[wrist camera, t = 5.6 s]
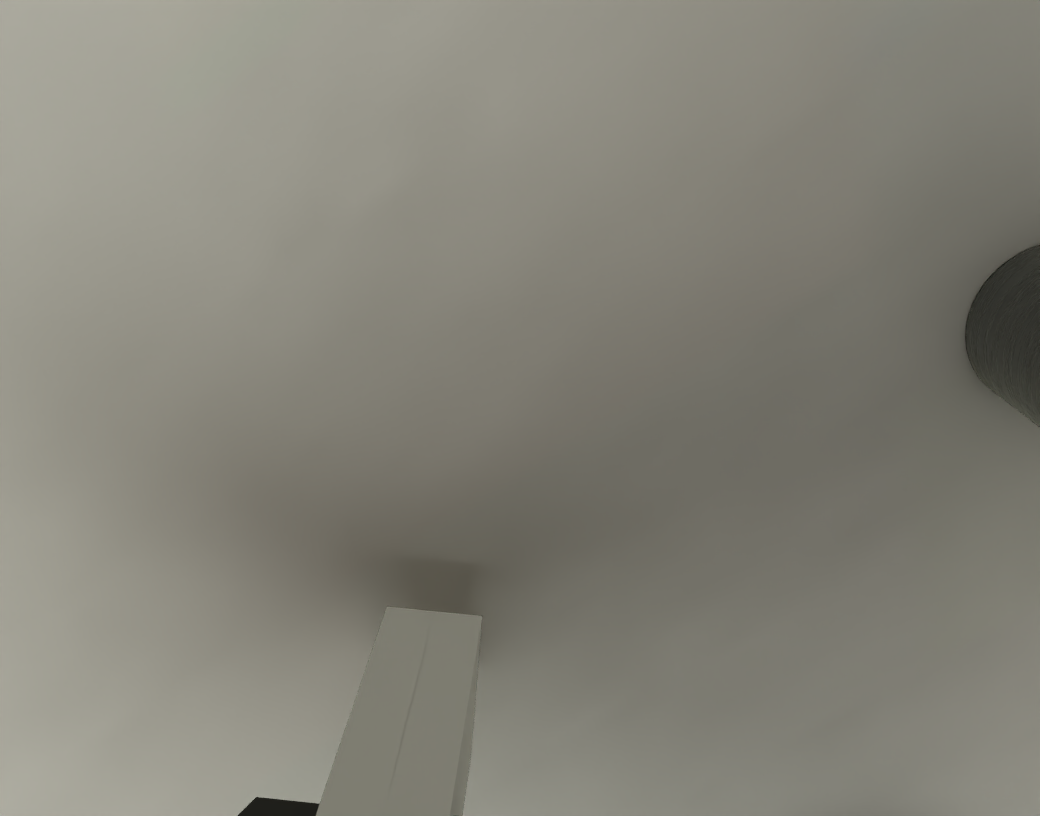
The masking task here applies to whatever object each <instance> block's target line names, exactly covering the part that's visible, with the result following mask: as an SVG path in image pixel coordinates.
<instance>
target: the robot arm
mask: <svg viewBox="0 0 1040 816" xmlns="http://www.w3.org/2000/svg"><path fill="white" fill-rule="evenodd" d="M481 626H482V616H477V615H467V614H458V613H448V612H438V611H428V610H418V609H408V608H398V607H389V606H387V608H386V611H385V614H384V617H383V620H382V622H381V625H380V628H379V631H378V634H377V637H376V640H375V643H374V646H373V649H372V652H371V655H370V658H369V661H368V664H367V666H366V669H365V672H364V675H363V678H362V681H361V684H360V687H359V690H358V693H357V696H356V699H355V702H354V705H353V708H352V710H351V713H350V716H349V719H348V722H347V725H346V728H345V731H344V734H343V737H342V740H341V743H340V746H339V749H338V752H337V754H336V757H335V760H334V763H333V766H332V769H331V772H330V775H329V778H328V781H327V784H326V787H325V790H324V793H323V796H322V798H321V801H320V804H316V803H307V802H297V801H288V800H278V799H269V798H259V797H256V798H255V799H254V800H253V801H252V802H251V803H250V804H249V805H248V806H247V807H246V808H245V809H244V810H243V811H242V812H241V813H240V814H239V815H238V816H462V815H463V808H464V801H465V794H466V787H467V780H468V773H469V767H470V760H471V751H472V738H473V726H474V713H475V701H476V688H477V676H478V663H479V651H480V638H481Z"/></svg>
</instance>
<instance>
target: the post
mask: <svg viewBox="0 0 1040 816" xmlns="http://www.w3.org/2000/svg"><path fill="white" fill-rule="evenodd" d="M966 348H967V353H968V357H969V360H970V362H971V365H972V367H973V369H974V371H975V372H976V374H977V376H978V377H979V378H980V379H981V380H982V382H983V383H984V384H985V385H986V386H987V387H989V388H990V389H991V390H992V391H993V392H995V393H996V394H997V395H999V396H1000V397H1001V398H1002V399H1004V400H1005V401H1006V402H1008V403H1009V404H1010V405H1011V406H1013V407H1014V408H1015V409H1017V410H1018V411H1019V412H1020V413H1022V414H1023V415H1024V416H1026V417H1027V418H1028V419H1029V420H1031V421H1032V422H1033V423H1035V424H1036V425H1037V426H1038V427H1040V245H1038V246H1035V247H1032V248H1030V249H1028V250H1026V251H1024V252H1022V253H1020V254H1018V255H1017V256H1015V257H1013V258H1012V259H1010V260H1009V261H1008V262H1006V263H1005V264H1004V265H1002V266H1001V267H1000V268H999V269H998V270H997V271H996V272H995V273H994V274H993V275H992V276H991V277H990V278H989V279H988V281H987V282H986V283H985V284H984V286H983V287H982V289H981V290H980V292H979V293H978V295H977V297H976V299H975V301H974V303H973V305H972V308H971V311H970V314H969V316H968V321H967V326H966Z"/></svg>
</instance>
